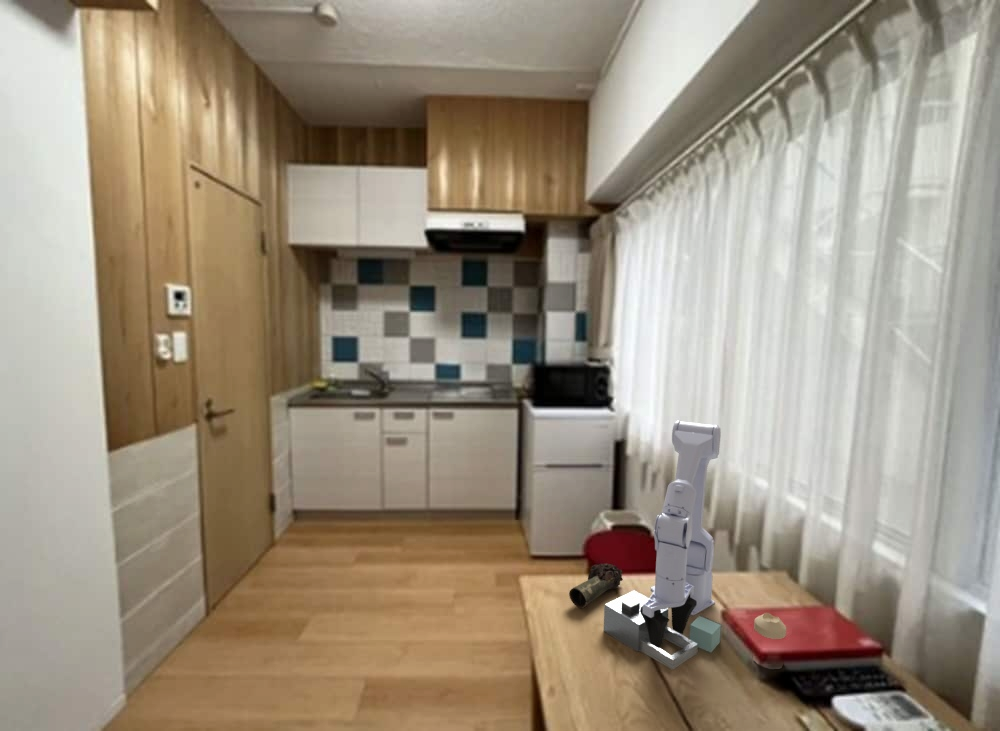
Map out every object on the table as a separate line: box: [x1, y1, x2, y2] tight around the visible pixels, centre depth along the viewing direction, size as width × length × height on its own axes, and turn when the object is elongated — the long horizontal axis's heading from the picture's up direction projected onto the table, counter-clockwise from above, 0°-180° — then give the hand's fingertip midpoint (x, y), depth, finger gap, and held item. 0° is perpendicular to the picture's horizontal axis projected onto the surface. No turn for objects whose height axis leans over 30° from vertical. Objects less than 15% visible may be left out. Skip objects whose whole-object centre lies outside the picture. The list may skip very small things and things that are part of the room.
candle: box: [753, 612, 787, 639], centre depth 99 cm, size 6×6×10 cm
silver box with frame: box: [603, 590, 699, 670], centre depth 107 cm, size 13×16×8 cm
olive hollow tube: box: [568, 563, 623, 609], centre depth 124 cm, size 18×7×6 cm, turn 136°
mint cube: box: [689, 614, 722, 653], centre depth 106 cm, size 4×4×5 cm
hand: (667, 638), depth 103 cm, fingers open, 7 cm apart
